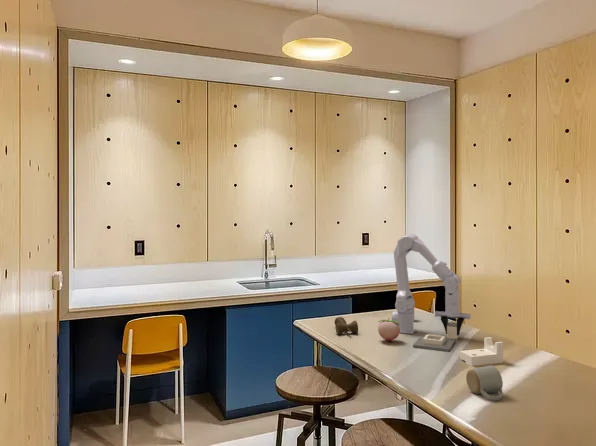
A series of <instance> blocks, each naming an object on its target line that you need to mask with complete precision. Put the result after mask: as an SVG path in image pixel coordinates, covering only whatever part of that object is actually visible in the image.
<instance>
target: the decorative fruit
mask: <svg viewBox="0 0 596 446" xmlns="http://www.w3.org/2000/svg"><path fill="white" fill-rule="evenodd" d="M378 323H379V324H378V326H377V327H378V328H377V331H378V334H379V337H380V338H381V339H383V340H385V341H387V342H392V341H394V340H395V339H397V338H398V337H399V336H400V334H401V333H400V327H399V325H400V324H399V323H398V322H397V321H394V320H392V319H391V320H390V318H389V317H388V319H380V320H379V321H378ZM398 324H399V325H398Z"/></svg>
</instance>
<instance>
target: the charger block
mask: <svg viewBox="0 0 596 446" xmlns="http://www.w3.org/2000/svg"><path fill="white" fill-rule="evenodd" d="M458 338H459V335H457V322H449V321H448V324H447V334H446V339H451V340H458Z"/></svg>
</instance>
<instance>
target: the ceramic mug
mask: <svg viewBox="0 0 596 446" xmlns="http://www.w3.org/2000/svg"><path fill="white" fill-rule="evenodd" d="M465 375H466V377H465V379H466V384H467V386H468V389H469V390H470V391H471V392H472V393H473V394H477V395H482V396H483V397H484V398H485V399H487V400H490V401H494V402H497V401H499V400H501V399H502V398H503V395H504V394H503V393H504V392H503V386H504V381H503V377H502V375H501V372H500V371H499V369H498V368H497V367H496V366H494V365H493V364H490V365H485V366H482V367H476V368H472V369H469V370H468V371H467V372H466V374H465ZM493 393H495V394H496V393H499V395H498V396H494V395H490V394H493Z"/></svg>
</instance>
